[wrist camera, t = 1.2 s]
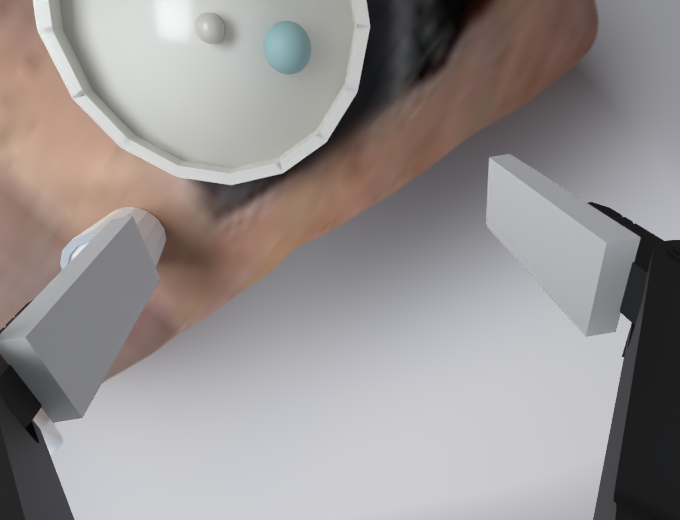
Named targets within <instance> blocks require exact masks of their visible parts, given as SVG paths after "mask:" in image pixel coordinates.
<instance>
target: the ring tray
mask: <svg viewBox="0 0 680 520" xmlns="http://www.w3.org/2000/svg"><path fill="white" fill-rule="evenodd" d="M33 5H34V11H35V18H36V24H37V31H38V33H39V34H40V36H41V38H42V40H43V42H44V44H45V46H46V48H47V50H48V52H49V54H50V56H51V58H52V60H53V62H54V64H55V66H56V67H57V69H58V71H59V73H60V75H61V77H62V79H63V81H64V83H65V85H66V87H67V89H68V91H69V93H70V95H71V97H72V99H73V100H74V101H75V102H76V103H77V104H78V105H79V106H80V107H81V108H82V109H83V110H84V111H85V112H86V113H87V114H88V115H89V116H90V117H91V118H92V119H93V120H94V121H95V122H96V123H97V124H98V125H99V126H100V127H101V128H102V129H103V130H104V131H105V132H106V133H107V134H108V135H109V136H110V137H111V138H112V139H113V140H114V141H115V142H116V143H117V144H118V145H119V146H120V147H121V148H122V149H124V150H126V151H128V152H130V153H132V154H134V155H135V156H137V157H139V158H141V159H143V160H145V161H147V162H149V163H151V164H153V165H154V166H156V167H158V168H160V169H162V170H164V171H166V172H168V173H170V174H172V175H173V176H175V177H180V178H187V179H194V180H200V181H207V182H214V183H220V184H227V185H234V184H238V183H243V182H247V181H252V180H256V179H260V178H265V177H269V176H273V175H278V174H282V173H284V172H285V171H287V170H288V169H290V168H291V167H292V166H294V165H295V164H297V163H298V162H299V161H301V160H302V159H304V158H305V157H306V156H308V155H309V154H311V153H312V152H313V151H315V150H316V149H318V148H319V147H320V146H322V145H323V144H325V143H326V142H327V141H328V139H329V137H330V136H331V134H332V132H333V131H334V129H335V128H336V126H337V124H338V123H339V121H340V120H341V118H342V116H343V115H344V113H345V112H346V110H347V108H348V107H349V105H350V104H351V102H352V100H353V99H354V97H355V96H356V94H357V92H358V87H359V82H360V77H361V72H362V67H363V62H364V56H365V51H366V46H367V41H368V36H369V31H370V21H369V14H368V7H367V1H366V0H33ZM281 21H291V22H294V23H297V24H298V25H300V26H301V27H302V28H303V29H304V30H305V31H306V33H307V34H308V36H309V39H310V42H311V57H310V60H309V62H308V64H307V65H306V66H305V68H304V69H303V70H301V71H300V72H298V73H295V74H289V75H288V74H282V73H280V72H278V71H276V70H275V69H273V68H272V67H271V65H270V64H269V63H268V61H267V59H266V57H265V54H264V39H265V36H266V33H267V32H268V30H269V29H270V28H271V27H272V26H273V25H274V24H276V23H278V22H281Z"/></svg>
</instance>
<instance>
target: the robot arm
mask: <svg viewBox="0 0 680 520" xmlns="http://www.w3.org/2000/svg"><path fill="white" fill-rule="evenodd" d="M486 226H487V227H488V228H489V229H490V230H491V231H492V233H494V235H495V236H496V237H497V238H498V239H499V240H500V241H501V243H502V244H503V245H504V246H505V247H506V248H507V249H508V250H509V252H510V253H511V254H512V255H513V256H514V257H515V258H516V259H517V260H518V261H519V262H520V264H521V265H522V266H523V267H524V268H525V269H526V270H527V271H528V273H529V274H530V275H531V276H532V277H533V278H534V279H535V280H536V282H537V283H538V284H539V285H540V286H541V287H542V288H543V289H544V290H545V291H546V293H547V294H548V295H549V296H550V297H551V298H552V299H553V300H554V301H555V303H556V304H557V305H558V306H559V307H560V308H561V309H562V310H563V312H564V313H565V314H566V315H567V316H568V317H569V318H570V319H571V320H572V322H573V323H574V324H575V325H576V326H577V327H578V328H579V329H580V331H582V333H583V334H584V335H585V336H592V335H598V334H604V333H611V332H616V328H617V324H618V321H619V317H620V313H622V314H623V315H624V316H625V317H626V318H627V319H629V320H630V321H631V322H632V324H631V328H630V331H629V334H628V338H627V341H626V345H625V348H624V352H623V355H622V357H624V361H623V366H622V372H621V377H620V382H619V387H618V392H617V398H616V403H615V408H614V413H613V419H612V424H611V430H610V434H609V440H608V445H607V450H606V456H605V461H604V466H603V471H602V476H601V482H600V487H599V492H598V498H597V503H596V508H595V513H594V518H593V520H680V240H671V241H663V240H662V239H660V238H658V237H657V236H655V235H654V234H652V233H650V232H649V231H647V230H645V229H644V228H642V227H640V226H639V225H637V224H633V222H632V221H630V220H629V219H627V218H626V217H622V215H620V214H619V213H617V212H616V211H614V210H612V209H611V208H608V207H605V206H602V205H599V204H596V203H593V202H590V203H586V202H584V201H583V200H581V199H580V198H578V197H577V196H575V195H573V194H572V193H570V192H569V191H567V190H566V189H564V188H563V187H561V186H559V185H558V184H556V183H555V182H553V181H552V180H550V179H548V178H547V177H545V176H544V175H542V174H541V173H539V172H538V171H536V170H534V169H533V168H531V167H530V166H528V165H526V164H525V163H523V162H522V161H520V160H519V159H517V158H516V157H514V156H512V155H511V154H507V155H501V156H495V157H489V171H488V193H487V214H486ZM159 280H160V276H159V274H158V272H157V270H156V267H155V265H154V263H153V261H152V258H151V256H150V254H149V252H148V249H147V247H146V245H145V243H144V240H143V238H142V236H141V234H140V231H139V229H138V227H137V225H136V222H135V220H134V218H133V216H129V217H122V218H116V219H112V220H111V221H110V222H109V223H108V224H107V225H106V226H105V227H104V228H103V229H102V230H101V231H100V232H99V233H98V234H97V235H96V236H95V237H94V238H93V239H92V240H91V241H90V242H89V243H88V244H87V245H86V246H85V247H84V248H83V249H82V251H81V252H80V253H79V254H78V255H77V256H76V257H75V258H74V259H73V260H72V261H71V262H70V263H69V264H68V265H67V266H66V267H65V268H64V269H63V270H62V271H61V272H60V273H59V274H58V275H57V276H56V277H55V278H54V279H53V280H52V281H51V282H50V283H49V284H48V285H47V286H46V288H45V289H44V290H43V291H42V292H41V293H40V294H39V295H38V296H37V297H36V298H35V299H33V300H32V301H30V302H29V303H27V304H26V305H25V306H24V307H23V308H22V309H21V310H20V311H19V312H18V313H17V314H16V315H15V318H12V319H11V320H10V321H9V322H8V323H7V324H6V327H5V328H2V329H1V330H0V520H74V518H73V515H72V513H71V510H70V507H69V504H68V502H67V499H66V496H65V494H64V491H63V488H62V486H61V483H60V480H59V478H58V475H57V473H56V470H55V467H54V465H53V462H52V459H51V457H50V454H49V451H48V449H47V446H46V443H45V441H44V438H43V435H42V433H41V430H40V428H39V427H38V426H37V425H36V423H35V422H34V421H33V418H34V417H35V415H36V414H37V412H38V411H39V409H40V408H41V407H42V409H43V410H44V411H45V412H46V414H47V415H48V416H49V418H50V419H51V420H52V422H59V421H65V420H70V419H78V418H82V417H83V416H84V414H85V412H86V410H87V409H88V407H89V405H90V403H91V401H92V400H93V398H94V396H95V394H96V393H97V390H98V389H99V387H100V385H101V384H102V382H103V380H104V378H105V376H106V375H107V373H108V371H109V369H110V367H111V366H112V364H113V362H114V360H115V359H116V357H117V355H118V353H119V351H120V350H121V348H122V346H123V344H124V342H125V341H126V339H127V337H128V335H129V334H130V332H131V330H132V328H133V326H134V325H135V323H136V321H137V319H138V317H139V316H140V314H141V312H142V310H143V309H144V307H145V305H146V303H147V301H148V300H149V298H150V296H151V294H152V292H153V291H154V289H155V287H156V285H157V283H158V282H159Z"/></svg>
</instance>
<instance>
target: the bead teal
mask: <svg viewBox="0 0 680 520" xmlns="http://www.w3.org/2000/svg"><path fill="white" fill-rule="evenodd" d="M264 54H265V57H266V59H267V61H268V63H269V64H270V65H271V67H272V68H273V69H275V70H276V71H278V72H280V73H282V74H288V75H289V74H295V73H298V72H300V71H301V70H303V69H304V68H305V66H306V65H307V64H308V62H309V60H310V57H311V42H310V39H309V36H308V34H307V33H306V31H305V30H304V29H303V28H302V27H301V26H300V25H298V24H297V23H294V22H291V21H281V22H278V23H276V24H274V25H273V26H272V27H271V28H270V29H269V30H268V32H267V33H266V36H265V39H264Z"/></svg>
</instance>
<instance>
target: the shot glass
mask: <svg viewBox="0 0 680 520" xmlns="http://www.w3.org/2000/svg"><path fill="white" fill-rule="evenodd" d="M129 216H133V218H134V220H135V222H136V225H137V227H138V229H139V231H140V234H141V236H142V238H143V240H144V243H145V245H146V247H147V249H148V252H149V254H150V256H151V258H152V261H153V263H154V265H155V267H156V266H157V263H158V261H159V258H160V256H161V254H162V251H163V249H164V246H165V242H166V235H165V229H164V228H163V226H162V225H161V223H160V221H159V220H158V219H157V218H156V217H154V216H153V215H152V214H150V213H149V212H147V211H145V210H142V209H139V208H136V207H123V208H121V209H118V210H116V211H113V212H112V213H110V214H109V215H107V216H106V217H104V218H103V219H101V220H100V221H99V222H97V223H96V224H94V225H93V226H91V227H90V228H88V229H87V230H85V231H84V232H82V233H81V234H80V235H78V236H77V237H75V238H74V239H72V240H71V241H70V242H69V243H68V245H67V246H66V247H65V248H64V249H63V250H62V256H61V262H60V265H61V268H62V270H63V269H64V268H65V267H66V266H67V265H68V264H69V263H70V262H71V261H72V260H73V259H74V258H75V257H76V256H77V255H78V254H79V253H80V252H81V251H82V249H83V248H84V247H85V246H86V245H87V244H88V243H89V242H90V241H91V240H92V239H93V238H94V237H95V236H96V235H97V234H98V233H99V232H100V231H101V230H102V229H103V228H104V227H105V226H106V225H107V224H108V223H109V222H110V221H111V220H112V219H116V218H122V217H129Z"/></svg>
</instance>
